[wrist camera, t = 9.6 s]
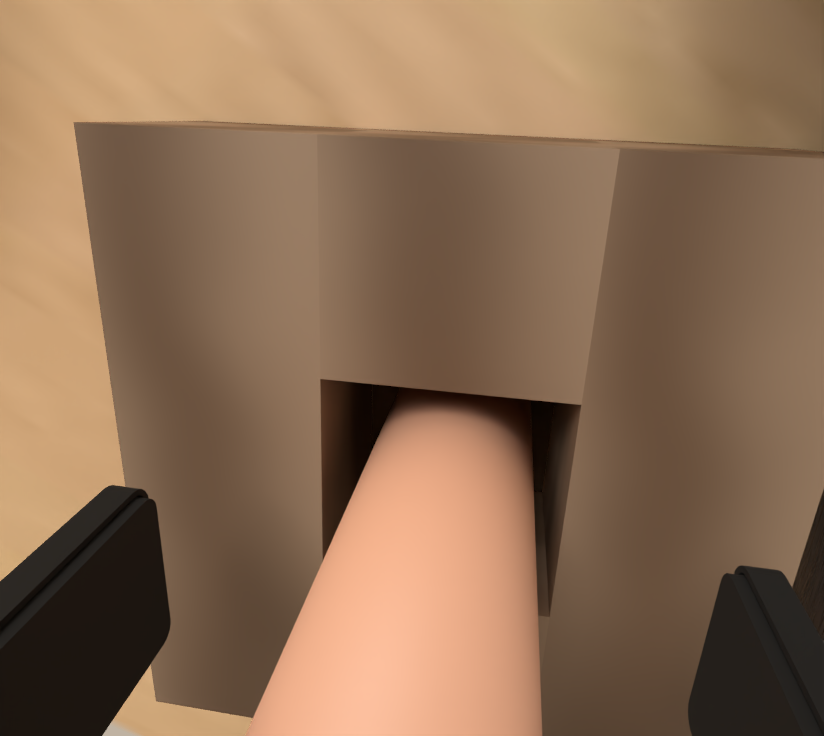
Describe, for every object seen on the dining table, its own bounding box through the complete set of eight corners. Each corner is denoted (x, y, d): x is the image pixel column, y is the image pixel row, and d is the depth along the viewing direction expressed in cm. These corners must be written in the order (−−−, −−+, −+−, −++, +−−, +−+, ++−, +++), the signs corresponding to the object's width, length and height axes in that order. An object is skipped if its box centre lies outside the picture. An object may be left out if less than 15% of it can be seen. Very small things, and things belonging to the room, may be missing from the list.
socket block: (796, 149, 14) (927, 164, 10) (676, 638, 19) (724, 798, 15) (201, 121, 16) (73, 122, 12) (235, 574, 21) (156, 701, 17)
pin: (537, 347, 17) (570, 782, 6) (523, 467, 18) (527, 1007, 7) (402, 336, 17) (195, 718, 6) (398, 453, 19) (221, 939, 8)
